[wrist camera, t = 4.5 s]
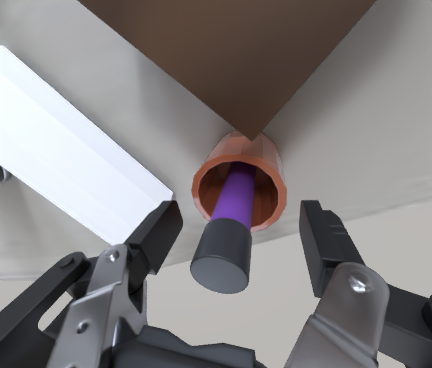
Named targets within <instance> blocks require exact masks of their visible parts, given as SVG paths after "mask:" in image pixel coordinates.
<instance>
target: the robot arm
mask: <svg viewBox="0 0 432 368" xmlns="http://www.w3.org/2000/svg"><path fill="white" fill-rule="evenodd" d="M10 177H11V173H10V172H9V171H7V170H6V169H5V168H3V167H2V166H0V183H3V182H6V181H8V180H9V179H10ZM182 226H183V219H182V216H181V213H180V210H179V207H178V204H177V202H176V201H175V200H170V201H162V202H161V204H160V205H159V206H158V207H157V208H156V209H154V210H153V211H151V212H150V213H149V214H148V215H147V216H146V217H145V218H144V220H143V221H142V222H141V223H140V225H138V227H137V228H136V229H135V230H134V231H133V232H132V233H131V235H130V236H129V237H128V238H127V239H126V240H125V242H124V243H123V244H115V245H113V246H111V247H109V248H107V249H106V250H104V251H103V252H102V253H101V254H100V256H98V257H93V258H88V259H87V258H86V256H85V255H84V254H83V253H82V252H74V253H71V254H69V255H67V256H65V257H64V258H62V259H61V260H59V261H58V262H57V263H56V264H55V265H54V266H52V267H51V268H50V269H49V270H48V271H47V272H46V273H44V274H43V275H42V276H41V277H40V278H39V279H37V280H36V281H35V282H34V283H33V284H32V285H31V286H29V287H28V288H27V289H26V290H25V291H24V292H23V293H21V294H20V295H19V296H18V297H17V298H16V299H14V301H12V302H11V303H10V304H9V305H8V306H6V307H5V308H4V309H3V310H2V311H1V312H0V368H267V367H266V366H264V365H263V364H262V363H260V362H258V361H257V360H256V357H255V350H252V349H248V348H243V347H239V346H235V345H230V344H226V343H217V344H208V345H199V346H190V345H188V344H187V343H185V342H184V341H183V340H181V339H180V338H178V337H177V336H175V335H174V334H172V333H171V332H170V331H168V330H165V329H161V328H157V327H152V326H148V323H147V318H146V309H147V306H146V305H147V281H146V279H145V278H146V276H147V274H153V275H156V274H157V273H158V271H159V269H160V267H161V265H162V264H163V262H164V260H165V258H166V256H167V255H168V253H169V251H170V249H171V247H172V246H173V244H174V242H175V240H176V238H177V237H178V235H179V233H180V231H181V229H182ZM299 230H300V236H301V241H302V244H303V249H304V254H305V258H306V262H307V266H308V270H309V274H310V279H311V284H312V287H313V292H314V296H315V297H318V298H321V299H320V301H319V303H318V306H317V308H316V310H315V312H314V314H313V315H310V316H309V318H308V320H307V321H306V324H305V326H304V327H303V330H302V331H301V333H300V335H299V337H298V340H297V342H296V344H295V346H294V348H293V350H292V352H291V354H290V356H289V358H288V360H287V362H286V364H285V366H284V368H378V361H377V352H378V351H379V352H382V353H384V354H385V355H388V356H389V357H392V358H393V359H395V360H397V361H399V362H401V363H403V364H404V365H405V367H406V368H432V295H431V296H430V298H426V297H423V296H420V295H417V294H414V293H411V292H408V291H405V290H402V289H399V288H397V287H394V286H392V285H390V284H387V283H386V282H385V280H384V279H383V278H382V277H381V276H380V275H379V274H378V273H376V272H375V271H374V270H372V269H370V268H369V267H367V266H366V265H365V263H364V261H363V260H362V258H361V256H360V254H359V252H358V250H357V249H356V247H355V245H354V243H353V241H352V239H351V238H350V236H349V235H348V232H347V230H346V229H345V228H344V225H343V223H342V221H341V219H340V218H339V217H338V216H337V215H336V214H335V213H333V212H332V211H331V210H322V208H321V205H320V203H319V201H318V200H302V201H301V206H300V219H299ZM65 291H67V292H68V293H69V294H70V295H71V297H73V299H72V300H71V301H70V302H69V304H68V305H67V306H66V307H65V308H64V309H63V310H62V311H61V313H60V314H59V315H58V316H57V317H56V318H55V319H54V320H53V321H52V323H51V324H50V325H49V326H48V327H47V328H46V329H45V330H44V331H43V332H42V331H41V330H39V329H38V322H39V320H40V318H41V317H42V315H43V314H44V313H45V312H46V311H47V310H48V309H49V308H50V307H51V306H52V305H53V304H54V303H55V301H56V300H57V299H58V298H59V297H60V296H61V295H62V294H63V293H64V292H65Z"/></svg>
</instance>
